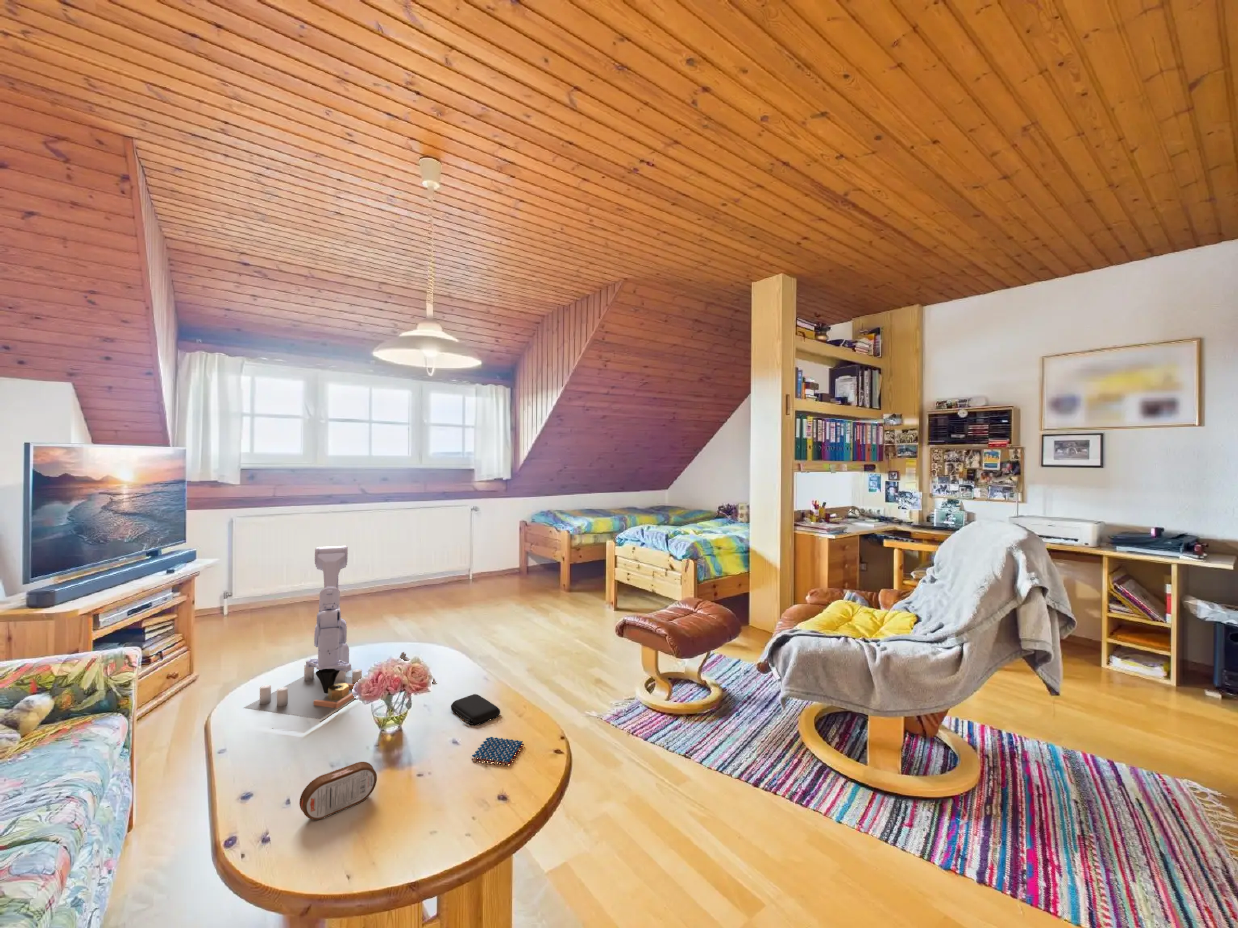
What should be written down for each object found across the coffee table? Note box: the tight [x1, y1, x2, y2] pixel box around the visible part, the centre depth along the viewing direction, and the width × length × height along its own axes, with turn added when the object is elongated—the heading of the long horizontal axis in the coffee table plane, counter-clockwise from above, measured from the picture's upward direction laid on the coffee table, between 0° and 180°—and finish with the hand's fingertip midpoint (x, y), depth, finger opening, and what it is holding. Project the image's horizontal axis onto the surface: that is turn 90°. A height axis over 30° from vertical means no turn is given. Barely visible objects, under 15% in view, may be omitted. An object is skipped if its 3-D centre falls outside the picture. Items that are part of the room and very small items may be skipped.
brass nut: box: [328, 683, 349, 701], centre depth 165 cm, size 6×5×3 cm
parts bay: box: [314, 683, 355, 709], centre depth 165 cm, size 13×8×1 cm, turn 168°
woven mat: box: [471, 736, 525, 766], centre depth 138 cm, size 10×11×2 cm
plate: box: [243, 664, 363, 723], centre depth 167 cm, size 26×26×6 cm
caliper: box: [399, 651, 437, 685], centre depth 184 cm, size 20×1×6 cm, turn 55°
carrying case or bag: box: [450, 693, 501, 726], centre depth 159 cm, size 11×3×15 cm
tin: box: [298, 761, 378, 821], centre depth 116 cm, size 15×3×8 cm, turn 135°
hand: (328, 691), depth 166 cm, fingers closed
